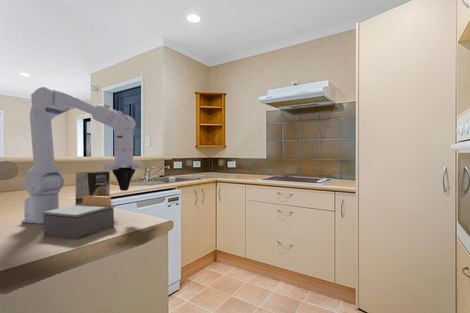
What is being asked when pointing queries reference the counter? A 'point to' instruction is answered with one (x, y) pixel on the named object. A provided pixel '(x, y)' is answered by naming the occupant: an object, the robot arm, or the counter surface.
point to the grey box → (78, 224)
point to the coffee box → (92, 184)
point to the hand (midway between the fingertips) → (124, 190)
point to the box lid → (83, 207)
